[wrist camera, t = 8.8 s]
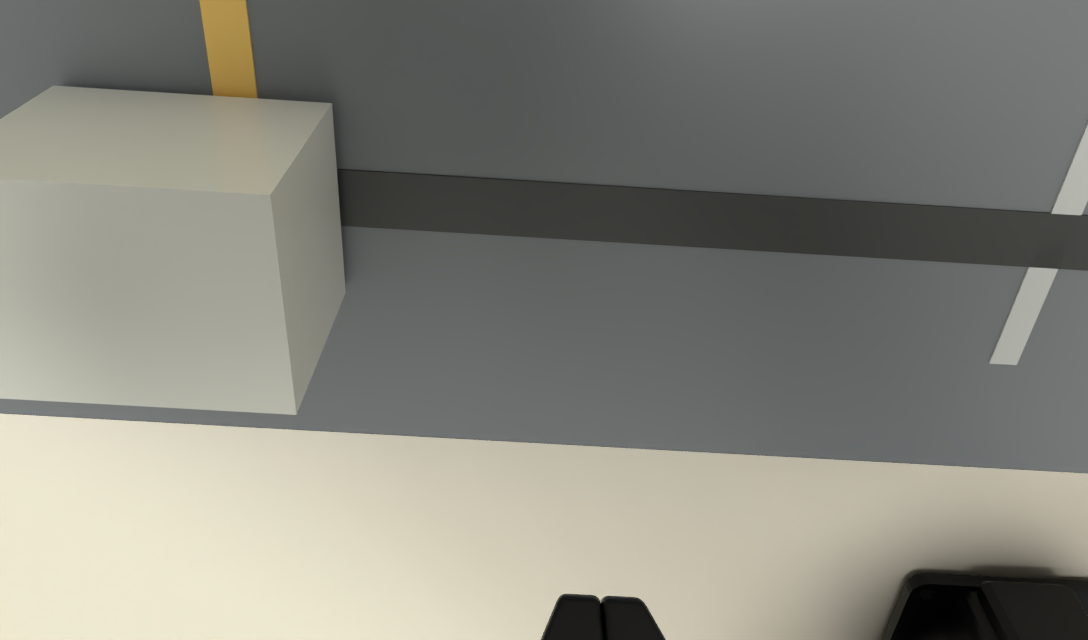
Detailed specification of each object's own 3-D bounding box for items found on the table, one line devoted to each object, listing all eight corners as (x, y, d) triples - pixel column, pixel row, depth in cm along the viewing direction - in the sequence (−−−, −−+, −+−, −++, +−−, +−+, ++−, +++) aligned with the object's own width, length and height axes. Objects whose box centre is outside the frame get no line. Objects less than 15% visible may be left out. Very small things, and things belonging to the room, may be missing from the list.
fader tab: (345, 292, 18) (296, 414, 15) (100, 278, 18) (-7, 398, 14) (332, 103, 16) (270, 194, 12) (53, 86, 16) (-87, 173, 12)
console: (1099, 400, 23) (1167, 478, 21) (41, 339, 23) (-25, 413, 20) (1350, -93, 17) (1494, -66, 14) (-121, -194, 16) (-248, -187, 14)
